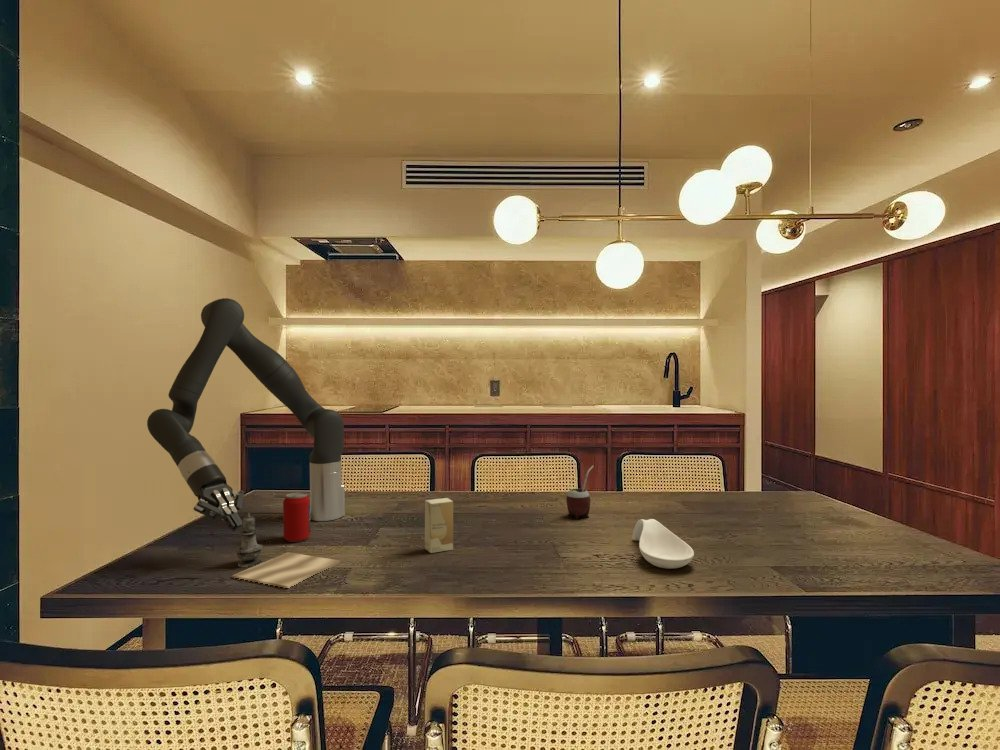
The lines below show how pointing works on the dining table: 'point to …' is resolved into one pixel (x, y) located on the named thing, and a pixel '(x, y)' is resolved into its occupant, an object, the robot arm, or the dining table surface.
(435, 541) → the skincare box
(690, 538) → the dining table surface
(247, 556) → the grey chess piece
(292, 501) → the beverage can
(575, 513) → the mate gourd
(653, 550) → the spoon rest
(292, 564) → the birch board
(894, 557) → the dining table surface
